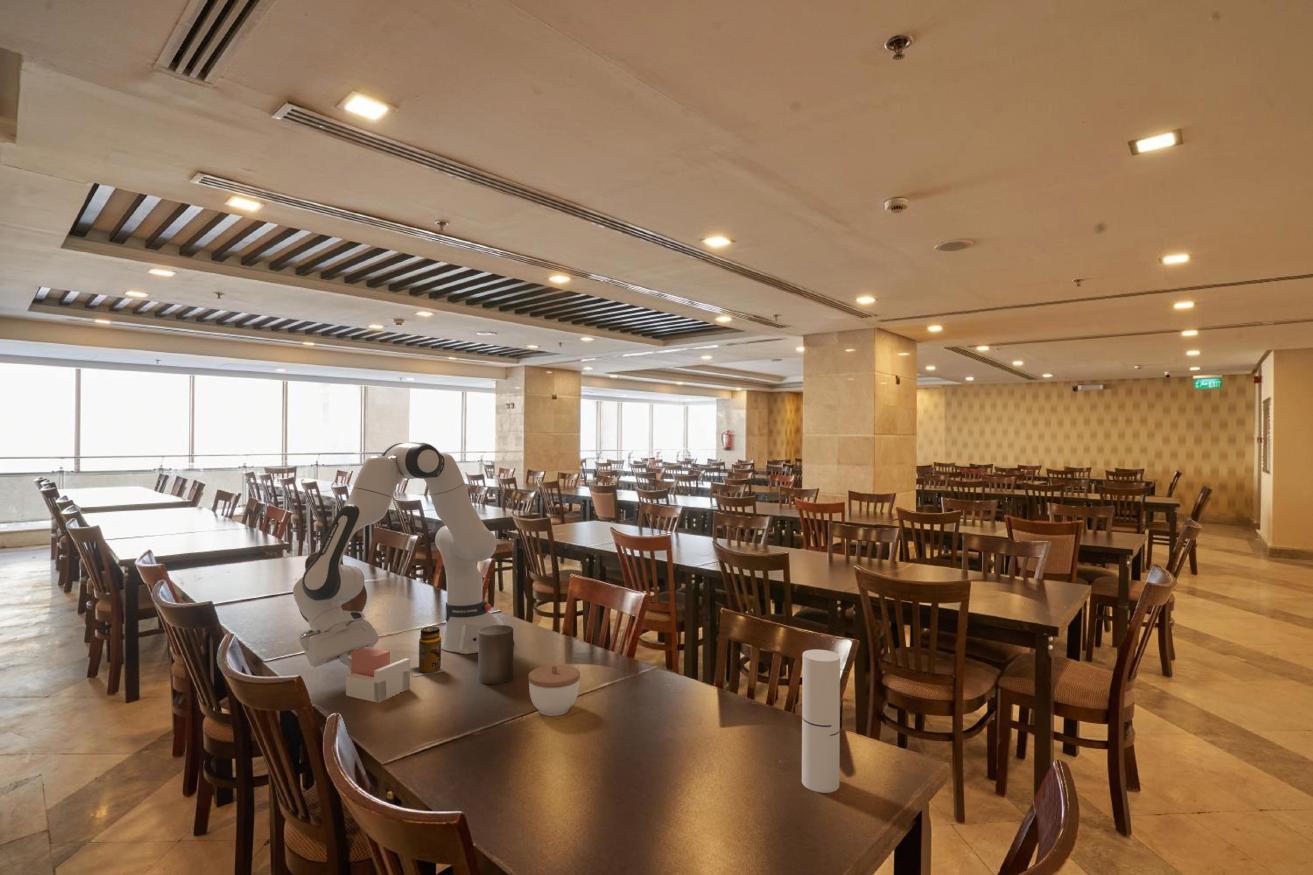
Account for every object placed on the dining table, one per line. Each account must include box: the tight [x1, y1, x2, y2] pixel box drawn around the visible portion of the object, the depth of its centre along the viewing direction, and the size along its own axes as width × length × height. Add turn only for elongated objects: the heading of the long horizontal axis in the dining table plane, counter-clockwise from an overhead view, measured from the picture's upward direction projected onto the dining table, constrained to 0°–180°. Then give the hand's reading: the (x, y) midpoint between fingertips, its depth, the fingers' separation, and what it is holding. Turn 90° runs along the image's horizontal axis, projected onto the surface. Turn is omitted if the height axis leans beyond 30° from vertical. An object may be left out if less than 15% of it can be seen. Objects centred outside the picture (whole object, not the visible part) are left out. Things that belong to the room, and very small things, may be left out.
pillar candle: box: [477, 624, 514, 685], centre depth 185 cm, size 10×10×15 cm
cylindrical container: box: [801, 649, 841, 794], centre depth 129 cm, size 7×7×25 cm
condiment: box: [410, 626, 445, 677], centre depth 191 cm, size 7×8×12 cm
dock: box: [345, 657, 411, 704], centre depth 174 cm, size 12×10×8 cm
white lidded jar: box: [528, 664, 581, 717], centre depth 163 cm, size 13×13×11 cm
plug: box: [350, 647, 391, 677], centre depth 175 cm, size 9×4×10 cm, turn 65°
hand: (356, 667), depth 178 cm, fingers closed, pressing on plug
